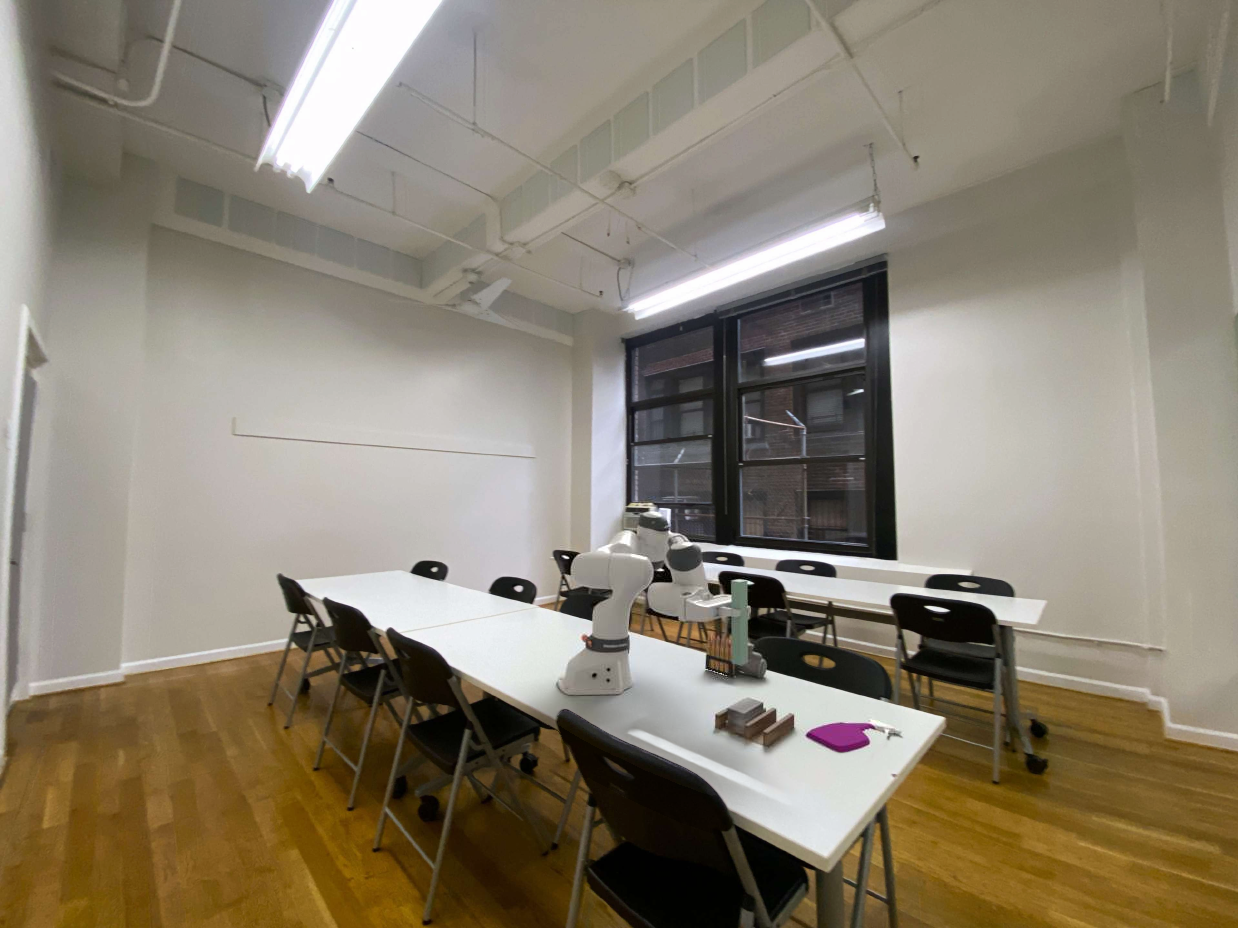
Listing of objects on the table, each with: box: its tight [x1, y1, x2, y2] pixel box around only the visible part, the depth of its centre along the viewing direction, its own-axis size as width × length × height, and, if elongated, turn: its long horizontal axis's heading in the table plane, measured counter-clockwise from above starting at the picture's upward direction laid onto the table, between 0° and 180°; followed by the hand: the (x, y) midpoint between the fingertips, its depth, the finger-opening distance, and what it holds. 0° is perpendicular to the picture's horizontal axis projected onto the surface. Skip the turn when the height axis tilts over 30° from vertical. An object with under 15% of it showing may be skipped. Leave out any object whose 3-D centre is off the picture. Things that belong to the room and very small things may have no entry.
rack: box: [714, 701, 796, 748], centre depth 116 cm, size 14×14×4 cm
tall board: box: [730, 578, 749, 665], centre depth 121 cm, size 2×4×20 cm
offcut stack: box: [725, 697, 767, 735], centre depth 118 cm, size 5×11×4 cm, turn 137°
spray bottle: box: [805, 718, 902, 753], centre depth 115 cm, size 3×11×25 cm
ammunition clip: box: [704, 632, 737, 678], centre depth 159 cm, size 11×2×12 cm, turn 45°
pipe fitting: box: [736, 641, 768, 679], centre depth 159 cm, size 12×8×10 cm, turn 53°
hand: (744, 611), depth 121 cm, fingers closed on tall board, 3 cm apart
